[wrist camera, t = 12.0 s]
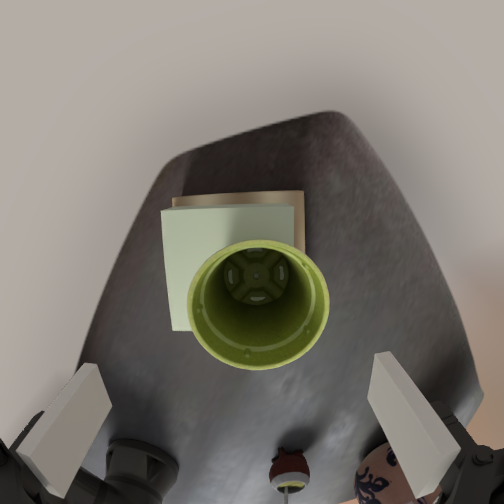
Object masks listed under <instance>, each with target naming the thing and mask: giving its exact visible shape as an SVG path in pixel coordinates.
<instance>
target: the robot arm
mask: <svg viewBox="0 0 504 504" xmlns="http://www.w3.org/2000/svg"><path fill="white" fill-rule="evenodd" d="M367 399H368V401H369V403H370V405H371V407H372V409H373V411H374V413H375V415H376V417H377V419H378V421H379V423H380V425H381V427H382V429H383V431H384V433H385V435H386V437H387V439H388V441H389V443H390V445H391V447H392V449H393V451H394V453H395V455H396V458H397V460H398V462H399V464H400V466H401V468H402V470H403V472H404V474H405V476H406V479H407V481H408V483H409V485H410V487H411V489H412V492H413V494H414V496H415V498H416V499H417V498H420V497H423V496H425V495H428V494H430V493H432V492H434V490H435V489H436V488H437V486H438V485H440V487H441V489H442V491H441V492H440V494H439V495H438V496H437V498H436V499H435V500H434V502H433V504H435V503H436V502H437V503H436V504H504V448H503V449H499V450H493V449H491V448H490V447H488V446H485V445H477V444H476V443H475V442H474V440H473V439H472V437H471V436H470V435H469V434H468V432H467V431H466V429H465V428H464V427H463V426H462V424H461V423H460V422H458V419H457V418H456V416H454V414H453V413H452V411H451V410H450V409H449V407H448V406H446V405H445V404H443V403H442V402H440V401H438V400H437V401H434V402H431V403H428V401H427V400H426V398H425V397H424V396H423V394H422V393H421V392H420V390H419V389H418V388H417V386H416V385H415V384H414V382H413V381H412V380H411V378H410V377H409V376H408V374H407V373H406V372H405V371H404V369H403V368H402V367H401V365H400V364H399V363H398V361H397V360H396V359H395V358H394V356H393V355H392V354H391V352H390V351H388V352H382V353H377V354H375V357H374V363H373V370H372V375H371V381H370V387H369V392H368V397H367ZM111 408H112V404H111V401H110V399H109V396H108V394H107V391H106V388H105V386H104V383H103V380H102V378H101V375H100V372H99V369H98V366H97V364H92V363H84V364H83V365H82V366H81V367H80V369H79V370H78V371H77V372H76V373H75V375H74V376H73V377H72V378H71V380H70V381H69V382H68V383H67V384H66V386H65V387H64V388H63V390H62V391H61V392H60V394H58V396H57V397H56V398H55V399H54V401H53V402H52V403H51V405H50V406H49V407H48V408H47V410H46V411H41V412H40V413H38V414H37V415H35V416H34V417H33V418H32V419H31V421H30V422H29V423H28V425H27V426H26V427H25V428H24V431H22V432H21V433H20V435H19V436H18V438H17V439H16V440H15V441H14V443H13V444H12V445H11V447H10V448H9V449H8V448H7V447H6V446H5V444H4V443H3V441H2V440H1V439H0V504H162V501H163V498H164V496H165V495H166V494H167V492H168V491H169V490H170V489H171V487H172V486H173V485H174V483H175V482H176V480H177V476H178V471H179V469H178V466H177V464H176V462H175V461H174V460H173V459H172V458H171V457H170V456H169V455H168V454H166V453H165V452H163V451H162V450H160V449H158V448H156V447H154V446H152V445H149V444H147V443H144V442H141V441H137V440H131V439H119V440H115V441H113V442H112V443H111V444H110V446H109V448H108V450H107V453H106V477H105V479H104V481H103V480H101V479H100V478H98V477H97V476H95V475H93V474H92V473H90V472H89V471H87V470H86V469H84V468H83V467H81V466H80V465H81V463H82V461H83V460H84V458H85V456H86V454H87V452H88V450H89V448H90V446H91V444H92V442H93V441H94V439H95V437H96V435H97V433H98V431H99V430H100V428H101V426H102V424H103V422H104V420H105V419H106V417H107V415H108V413H109V411H110V410H111Z"/></svg>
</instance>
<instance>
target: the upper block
mask: <svg viewBox="0 0 504 504" xmlns="http://www.w3.org/2000/svg"><path fill="white" fill-rule="evenodd" d="M161 220H162V235H163V248H164V259H165V270H166V280H167V289H168V298H169V306H170V314H171V321H172V329H173V331H192V329H191V326H190V323H189V319H188V314H187V295H188V290H189V287H190V284H191V282H192V279H193V278H194V276H195V274H196V272H197V271H198V270H199V268H200V267H201V266H202V265H203V263H204V262H205V261H206V260H207V259H208V258H209V257H211V256H212V255H213V254H215V253H216V252H217V251H219V250H221V249H223V248H225V247H227V246H229V245H232V244H234V243H237V242H241V241H245V240H251V239H270V240H276V241H280V242H283V243H286V244H289V245H291V246H293V247H294V206H292V205H290V204H288V203H265V204H226V205H199V206H179V207H172V208H168V209H165V210H162V211H161ZM252 251H260V252H262V249H261V248H249V249H248V250H247V252H252ZM279 268H280V280H283V278H284V273H283V267H282V266H280V267H279ZM228 277H229V282H230V283H231V284H233V280H232V270H230V271H229V272H228ZM258 277H259V274H257V273H255V274H254V278H255V279H257V278H258ZM264 298H265V297H251V300H253V301H259V300H262V299H264Z"/></svg>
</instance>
